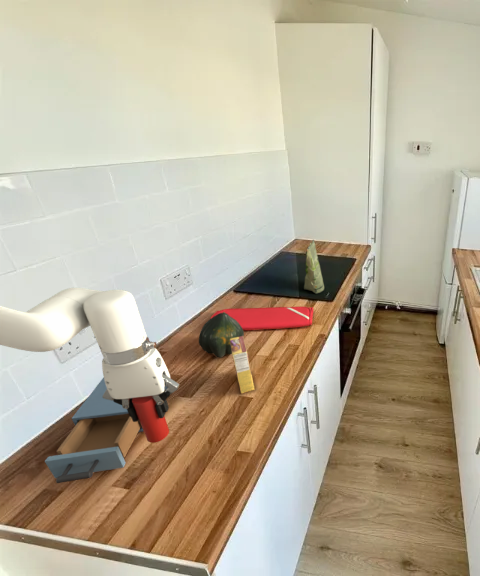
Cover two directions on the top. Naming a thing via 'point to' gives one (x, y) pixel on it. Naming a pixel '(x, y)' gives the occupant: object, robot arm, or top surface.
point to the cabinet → (99, 406)
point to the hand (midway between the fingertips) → (150, 414)
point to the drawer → (93, 447)
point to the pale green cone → (313, 270)
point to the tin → (150, 419)
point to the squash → (219, 334)
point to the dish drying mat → (270, 317)
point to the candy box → (241, 364)
